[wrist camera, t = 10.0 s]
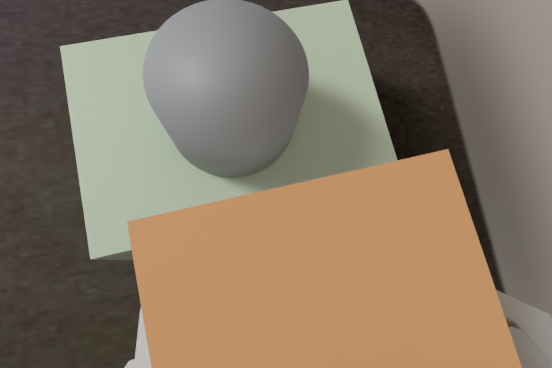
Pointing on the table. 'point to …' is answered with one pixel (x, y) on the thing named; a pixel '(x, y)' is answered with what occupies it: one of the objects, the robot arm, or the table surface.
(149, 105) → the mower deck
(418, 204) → the two-tone orange block
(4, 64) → the table surface
